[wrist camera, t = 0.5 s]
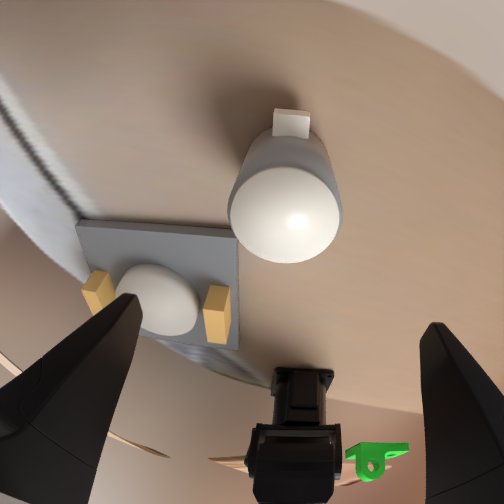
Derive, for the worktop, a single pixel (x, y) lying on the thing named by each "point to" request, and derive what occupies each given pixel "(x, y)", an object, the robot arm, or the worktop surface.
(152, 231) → the board
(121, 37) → the worktop surface
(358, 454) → the mechanical part
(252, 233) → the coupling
